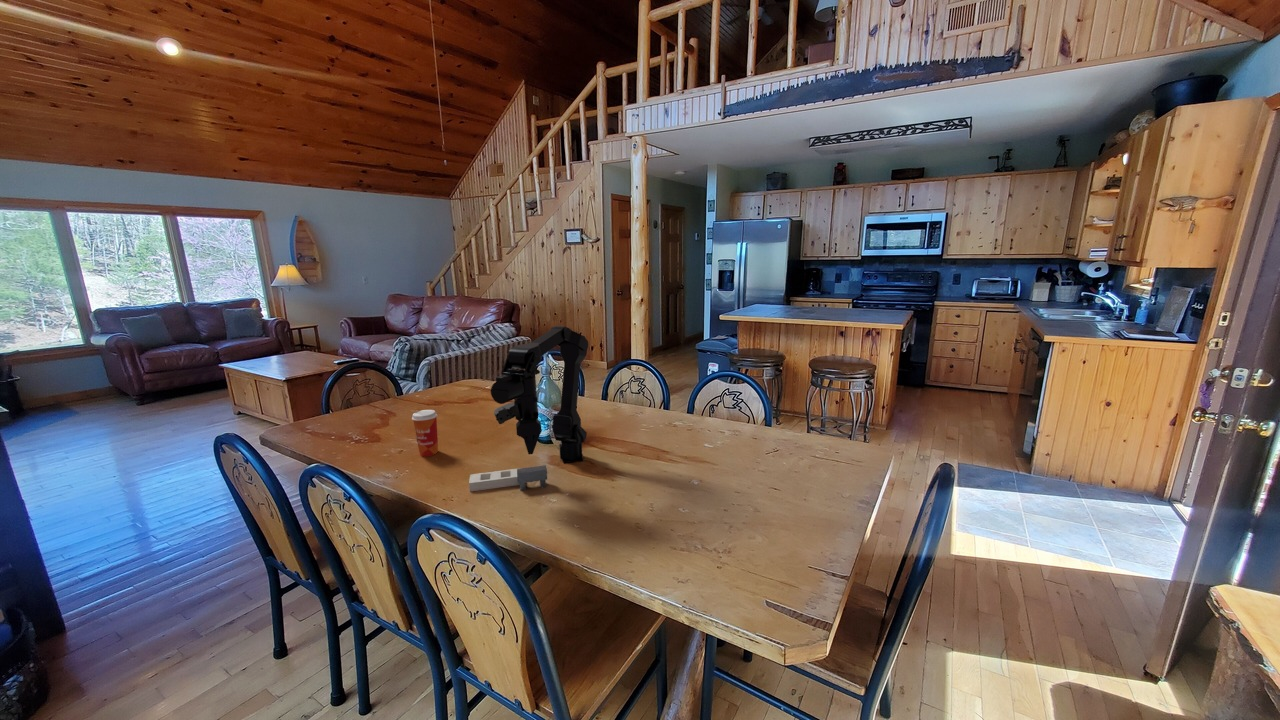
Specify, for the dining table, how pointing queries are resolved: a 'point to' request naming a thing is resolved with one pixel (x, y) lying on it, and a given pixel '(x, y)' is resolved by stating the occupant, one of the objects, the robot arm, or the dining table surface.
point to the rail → (493, 480)
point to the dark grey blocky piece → (532, 476)
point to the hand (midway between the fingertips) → (529, 447)
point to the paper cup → (426, 432)
